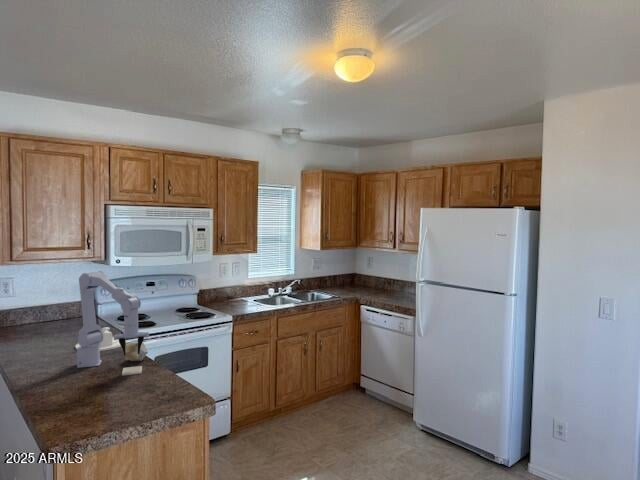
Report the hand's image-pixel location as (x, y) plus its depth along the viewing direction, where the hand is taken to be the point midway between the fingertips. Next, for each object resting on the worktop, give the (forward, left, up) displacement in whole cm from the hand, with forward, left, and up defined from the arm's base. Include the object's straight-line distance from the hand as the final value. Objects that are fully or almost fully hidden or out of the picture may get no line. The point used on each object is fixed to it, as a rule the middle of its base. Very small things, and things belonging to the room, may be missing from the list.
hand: (131, 354), depth 201 cm
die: (+1, +17, -8) cm, 19 cm away
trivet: (0, 0, -8) cm, 8 cm away
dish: (-19, +51, -9) cm, 55 cm away
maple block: (0, 0, -2) cm, 2 cm away
